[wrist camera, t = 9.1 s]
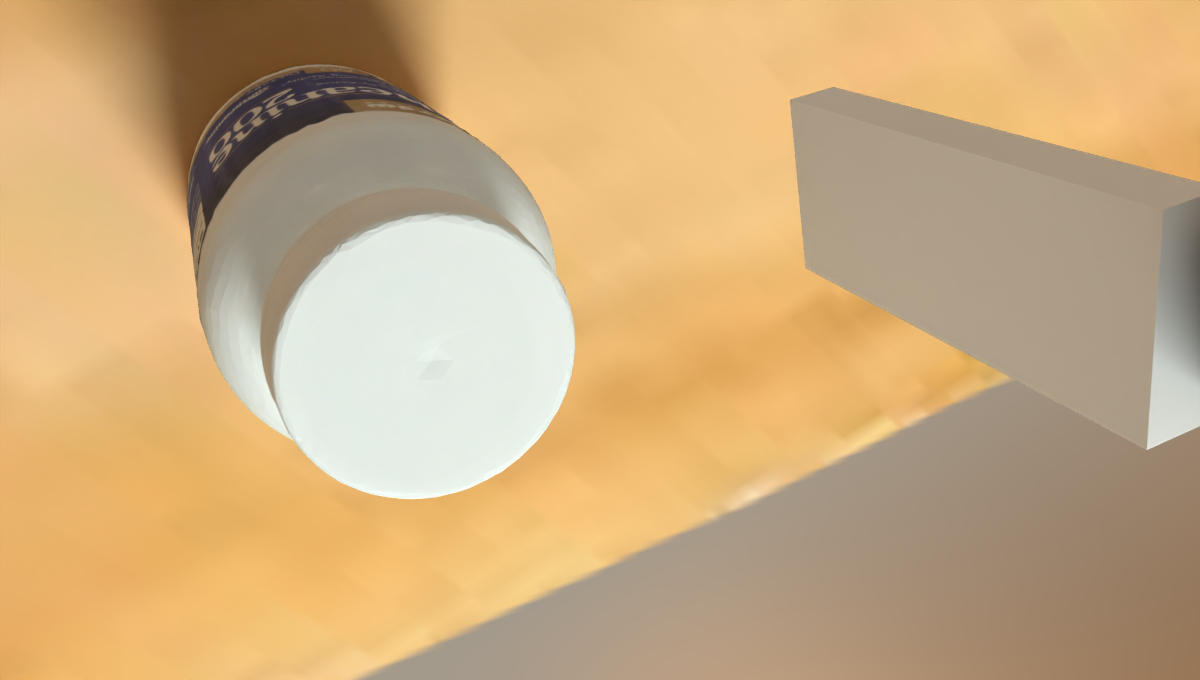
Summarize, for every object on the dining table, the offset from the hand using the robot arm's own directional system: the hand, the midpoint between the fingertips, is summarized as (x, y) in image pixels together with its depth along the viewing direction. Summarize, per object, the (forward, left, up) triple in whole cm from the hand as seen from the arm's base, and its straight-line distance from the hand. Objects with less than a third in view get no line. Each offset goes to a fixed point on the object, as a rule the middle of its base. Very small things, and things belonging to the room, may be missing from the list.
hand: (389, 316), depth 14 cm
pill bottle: (0, 0, -9) cm, 9 cm away
